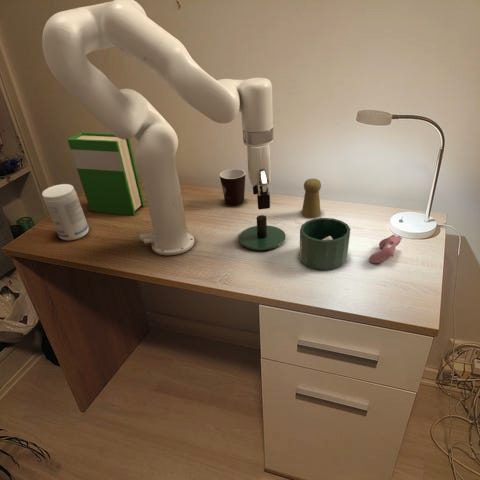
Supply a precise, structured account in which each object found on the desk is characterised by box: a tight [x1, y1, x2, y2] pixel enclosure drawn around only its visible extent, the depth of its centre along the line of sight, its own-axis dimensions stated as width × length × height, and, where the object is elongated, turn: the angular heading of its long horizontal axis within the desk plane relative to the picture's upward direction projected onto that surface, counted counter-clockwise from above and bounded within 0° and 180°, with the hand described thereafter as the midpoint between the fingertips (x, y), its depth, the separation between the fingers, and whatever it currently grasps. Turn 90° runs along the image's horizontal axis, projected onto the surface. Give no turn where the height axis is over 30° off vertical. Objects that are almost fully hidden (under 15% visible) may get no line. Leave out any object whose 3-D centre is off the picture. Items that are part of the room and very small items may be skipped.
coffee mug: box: [219, 168, 246, 207], centre depth 141 cm, size 12×9×10 cm
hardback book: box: [67, 131, 146, 216], centre depth 137 cm, size 18×7×24 cm, turn 71°
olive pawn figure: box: [301, 178, 322, 219], centre depth 129 cm, size 6×6×11 cm
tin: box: [298, 217, 351, 271], centre depth 110 cm, size 13×13×8 cm
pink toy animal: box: [368, 233, 403, 264], centre depth 109 cm, size 10×5×7 cm, turn 148°
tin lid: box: [238, 214, 286, 251], centre depth 120 cm, size 14×14×7 cm
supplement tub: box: [41, 183, 90, 241], centre depth 128 cm, size 10×10×15 cm
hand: (261, 200), depth 114 cm, fingers open, 9 cm apart
